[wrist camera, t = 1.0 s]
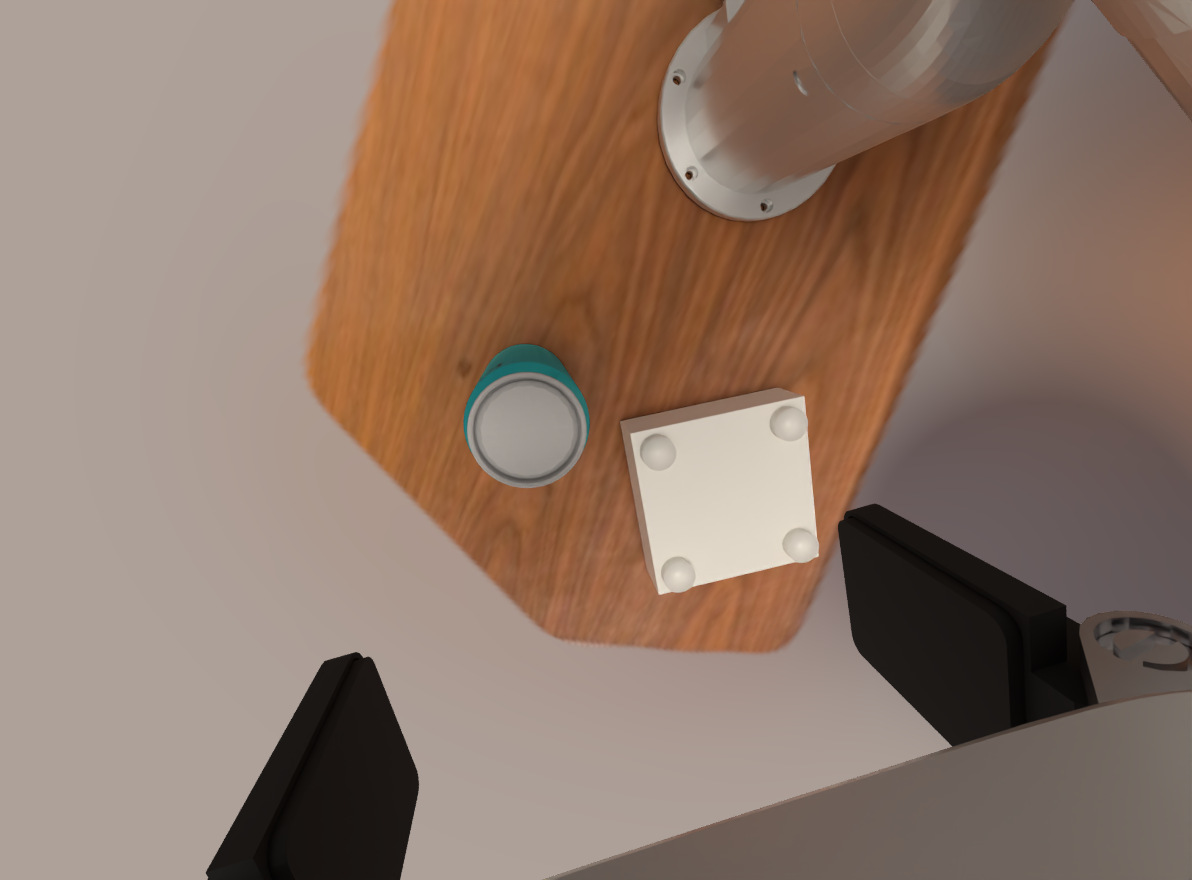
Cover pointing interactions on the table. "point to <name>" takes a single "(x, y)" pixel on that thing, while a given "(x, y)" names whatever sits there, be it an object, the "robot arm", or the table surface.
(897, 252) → the table surface
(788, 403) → the brick
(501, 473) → the beverage can
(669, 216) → the table surface
